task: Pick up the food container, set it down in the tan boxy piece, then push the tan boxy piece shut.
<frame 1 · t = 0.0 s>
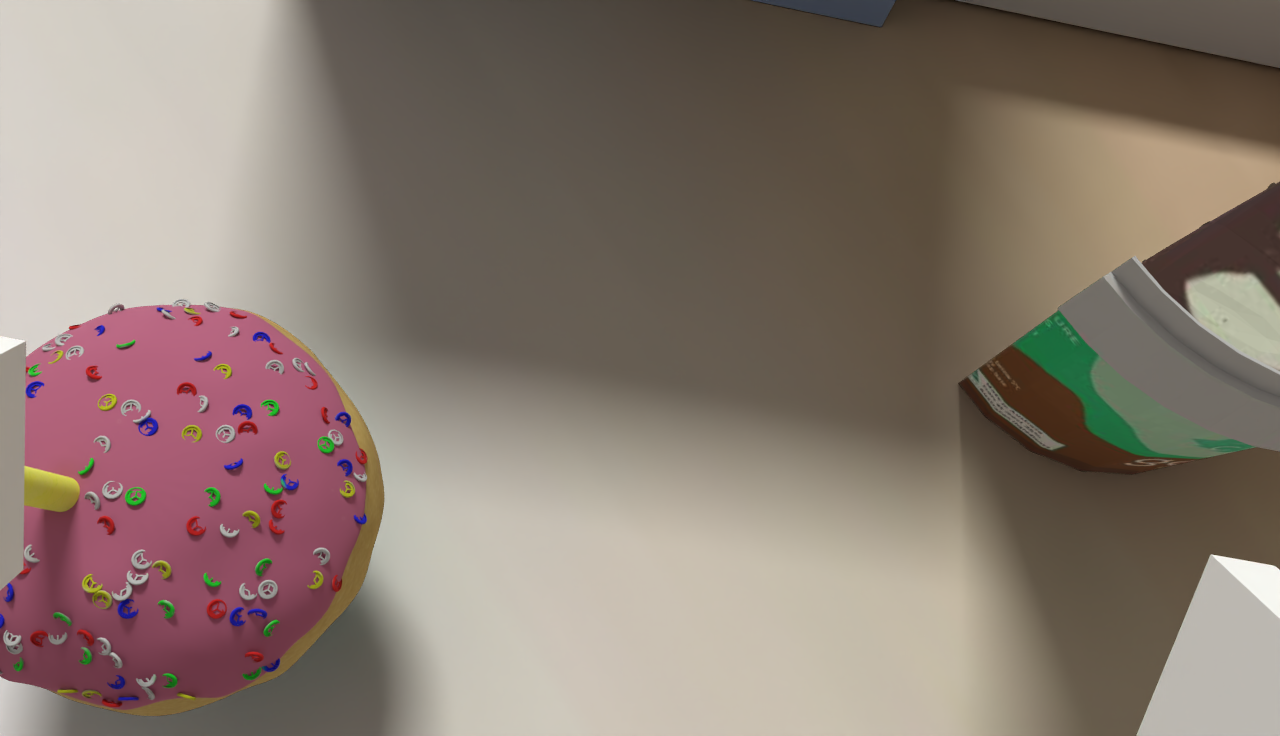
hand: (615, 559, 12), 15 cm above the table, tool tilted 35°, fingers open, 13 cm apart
food container: (1143, 399, 30), on the table
cupcake: (226, 531, 26), on the table
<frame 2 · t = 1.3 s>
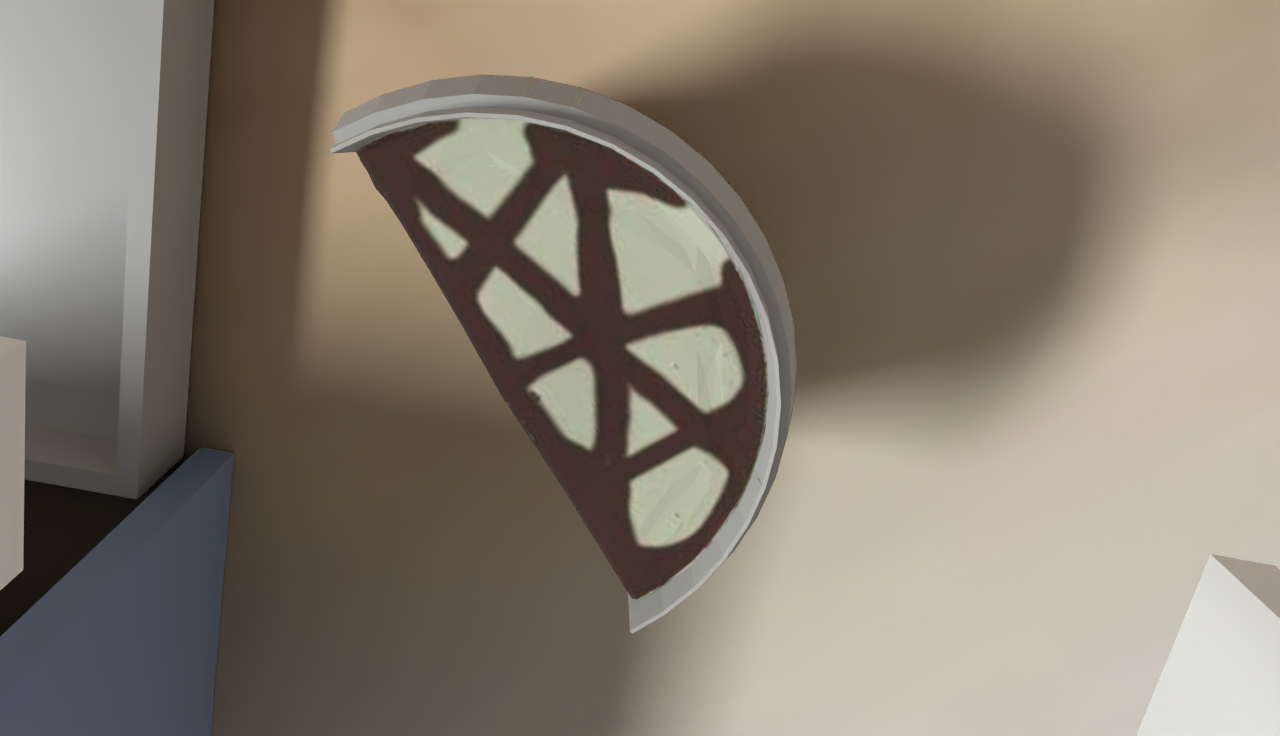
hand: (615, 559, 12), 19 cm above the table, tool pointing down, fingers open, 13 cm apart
food container: (636, 234, 29), on the table
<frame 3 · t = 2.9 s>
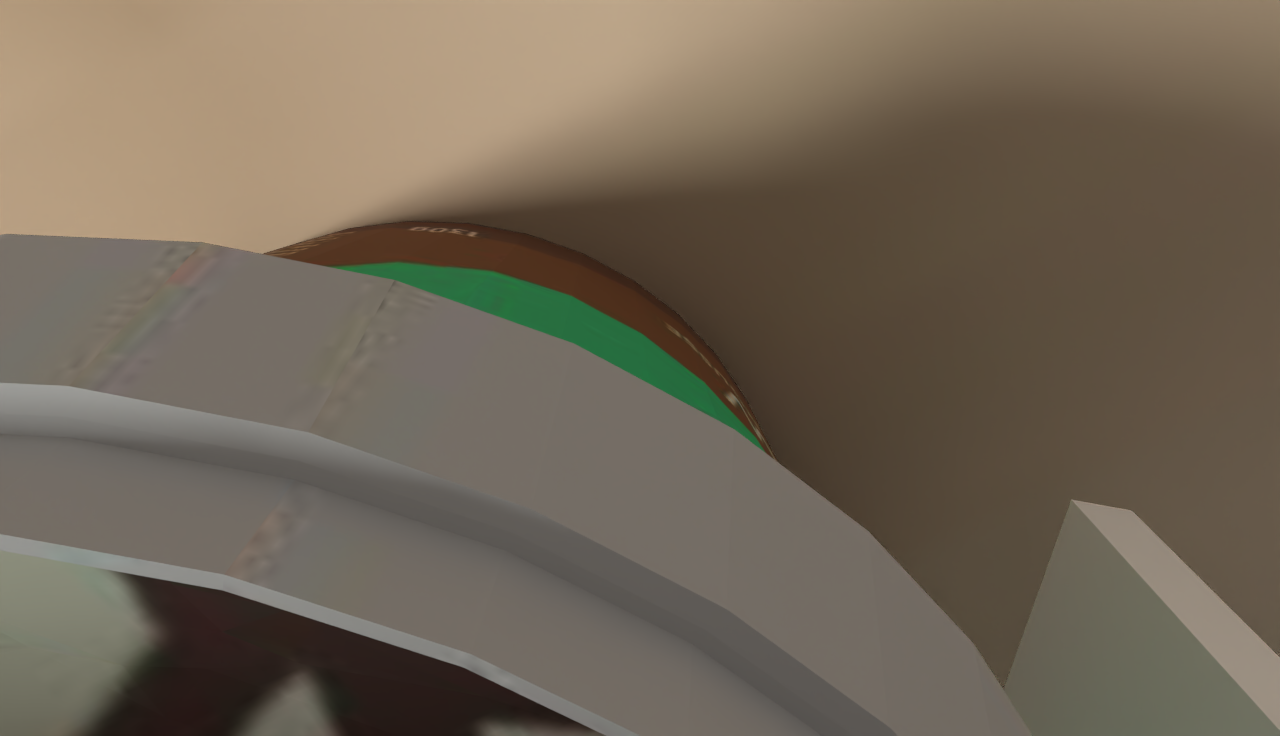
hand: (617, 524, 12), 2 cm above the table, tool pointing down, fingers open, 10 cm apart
food container: (621, 454, 14), on the table, touching gripper
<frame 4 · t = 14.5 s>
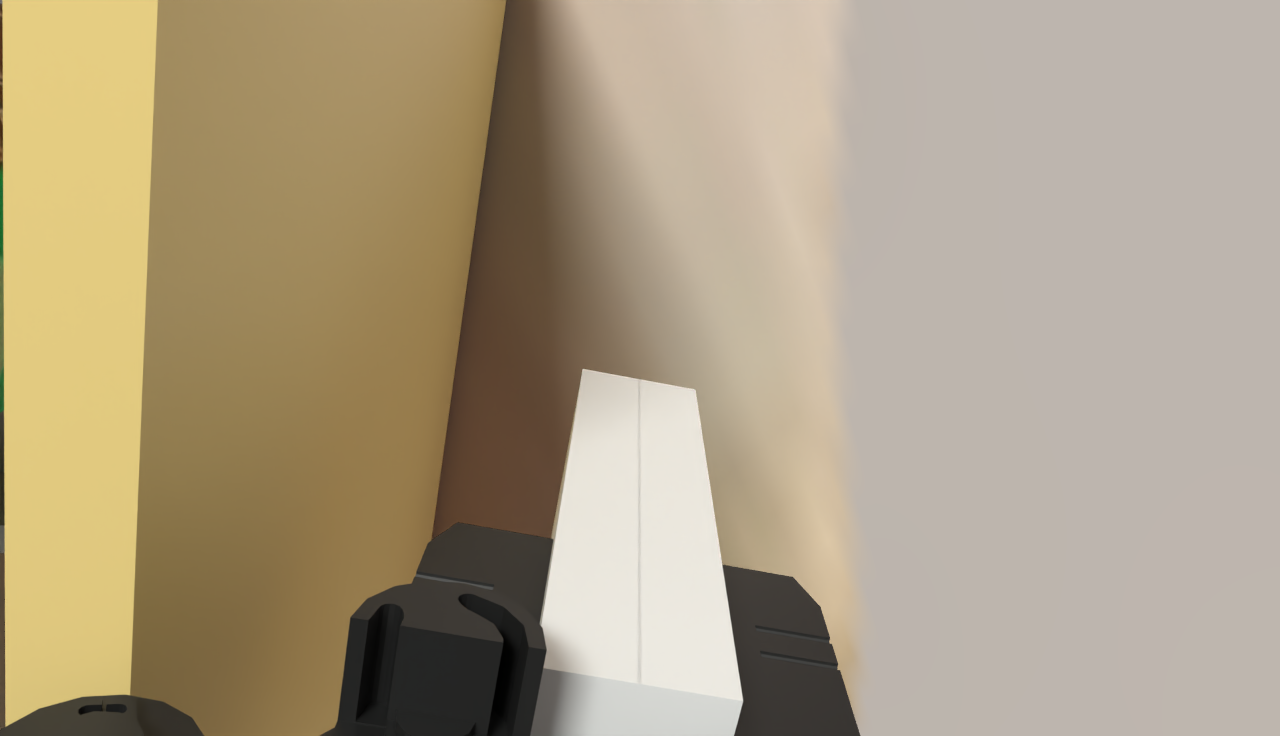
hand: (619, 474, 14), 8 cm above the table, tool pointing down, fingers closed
food container: (10, 273, 20), point 1 cm above the table, touching tan boxy piece
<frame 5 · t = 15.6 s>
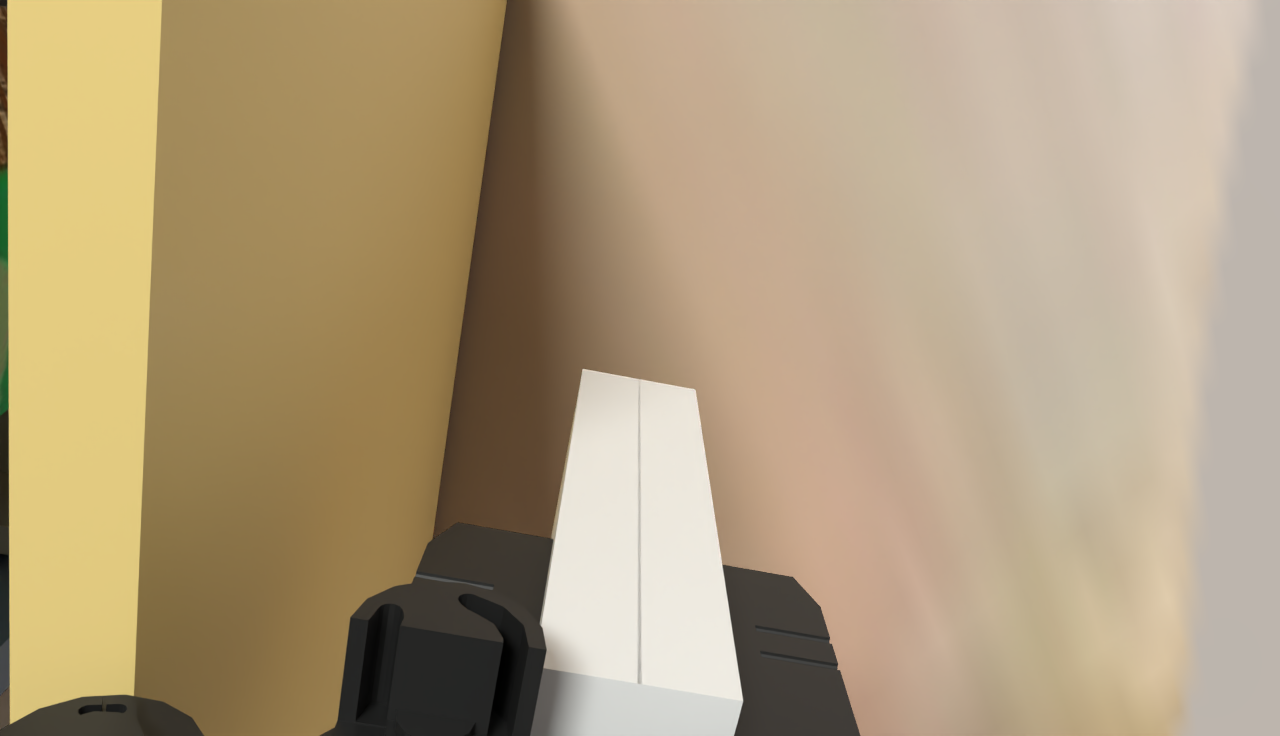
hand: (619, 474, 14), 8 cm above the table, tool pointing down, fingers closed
food container: (12, 274, 21), point 1 cm above the table, touching tan boxy piece
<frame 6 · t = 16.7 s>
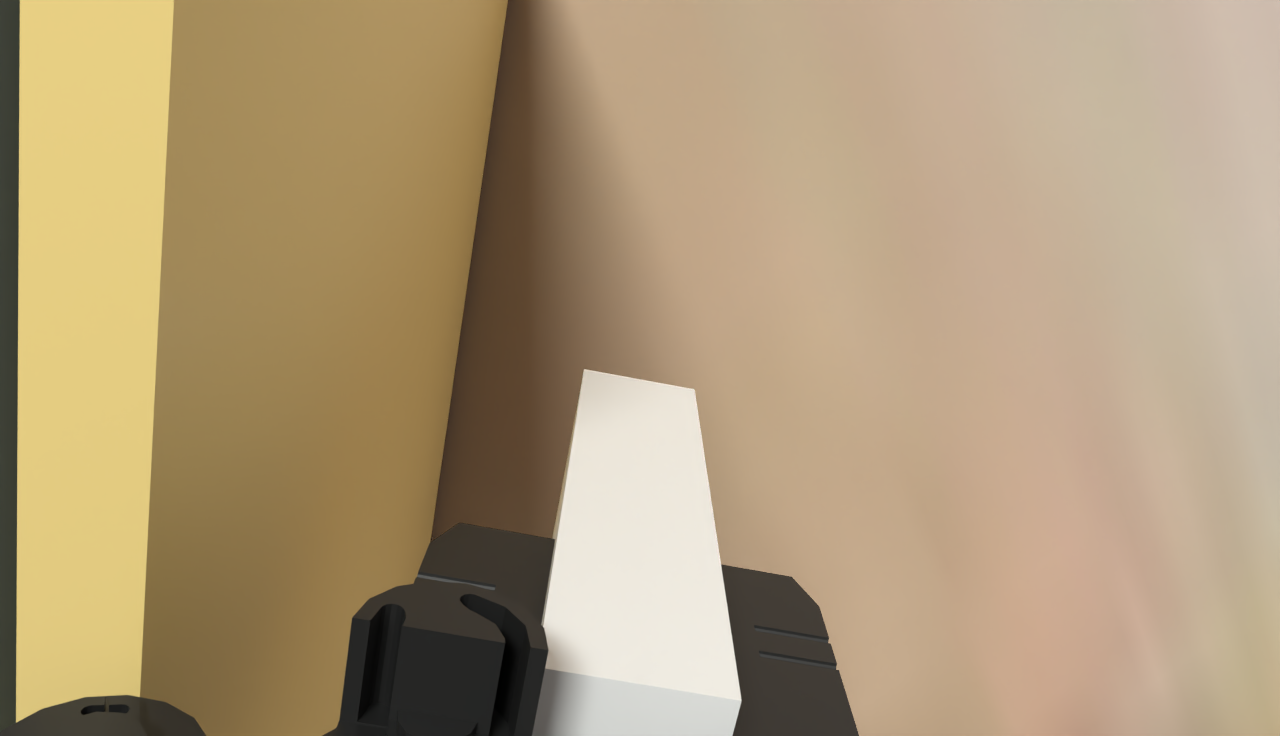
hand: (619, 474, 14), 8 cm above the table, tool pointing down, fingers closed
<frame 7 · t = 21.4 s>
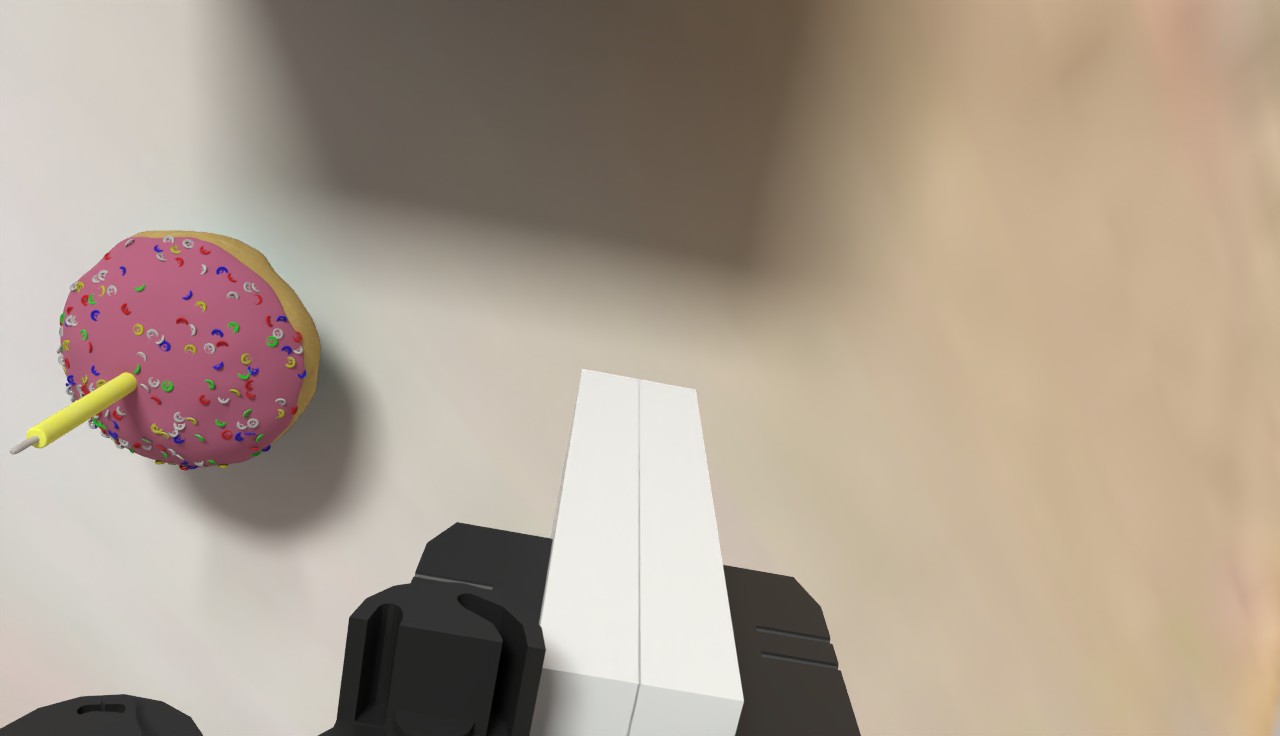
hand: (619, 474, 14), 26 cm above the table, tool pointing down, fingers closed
cupcake: (238, 314, 41), on the table
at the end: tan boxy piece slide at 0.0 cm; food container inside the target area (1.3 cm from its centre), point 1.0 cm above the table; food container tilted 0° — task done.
